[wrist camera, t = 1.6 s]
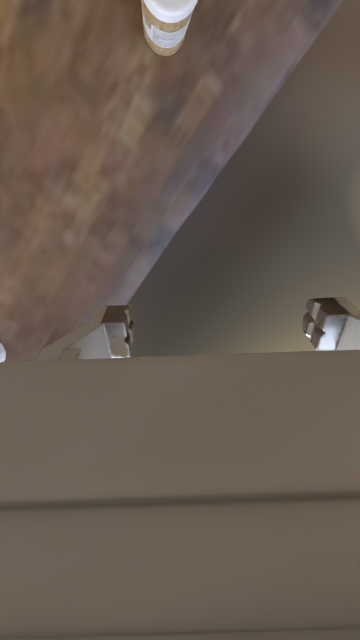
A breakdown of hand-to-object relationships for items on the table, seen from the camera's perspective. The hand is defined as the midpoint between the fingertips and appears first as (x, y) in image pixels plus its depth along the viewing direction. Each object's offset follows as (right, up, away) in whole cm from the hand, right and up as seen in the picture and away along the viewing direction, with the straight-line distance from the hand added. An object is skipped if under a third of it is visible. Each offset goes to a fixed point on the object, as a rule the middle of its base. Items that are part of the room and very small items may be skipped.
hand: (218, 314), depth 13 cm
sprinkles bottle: (-3, +31, +16) cm, 35 cm away
